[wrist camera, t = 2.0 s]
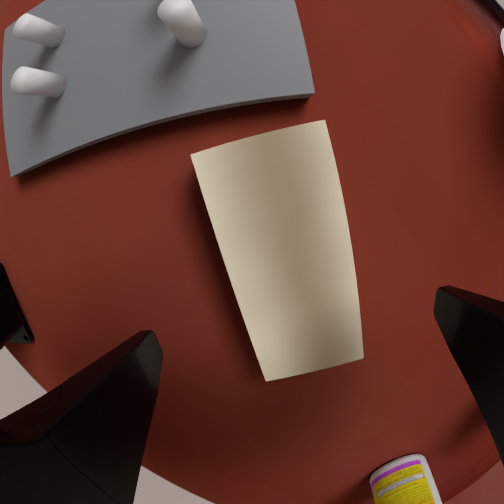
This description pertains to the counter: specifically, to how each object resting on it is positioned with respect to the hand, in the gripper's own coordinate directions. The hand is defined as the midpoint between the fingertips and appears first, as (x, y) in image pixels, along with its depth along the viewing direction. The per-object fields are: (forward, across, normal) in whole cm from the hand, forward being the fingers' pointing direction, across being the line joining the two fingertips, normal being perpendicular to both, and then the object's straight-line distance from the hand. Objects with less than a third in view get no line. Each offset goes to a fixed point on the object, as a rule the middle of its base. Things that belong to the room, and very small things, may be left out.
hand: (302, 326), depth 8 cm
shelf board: (+7, 0, 0) cm, 7 cm away
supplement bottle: (+6, -10, +27) cm, 30 cm away
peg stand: (+6, +6, -12) cm, 15 cm away
